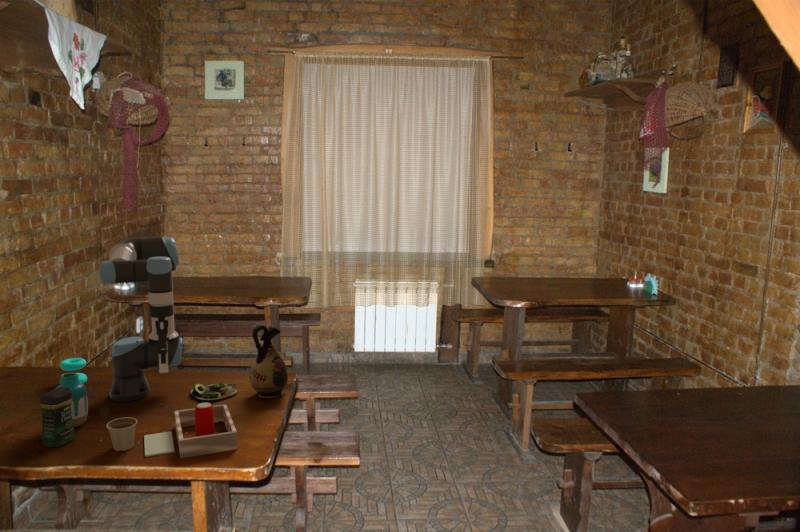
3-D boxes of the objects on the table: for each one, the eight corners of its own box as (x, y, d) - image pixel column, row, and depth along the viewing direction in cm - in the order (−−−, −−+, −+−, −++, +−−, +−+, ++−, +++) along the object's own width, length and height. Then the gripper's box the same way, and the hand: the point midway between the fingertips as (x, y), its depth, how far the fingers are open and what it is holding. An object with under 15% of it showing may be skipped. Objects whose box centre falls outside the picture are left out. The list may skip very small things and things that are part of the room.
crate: (175, 426, 223) (174, 410, 222) (226, 419, 230) (226, 404, 229) (180, 458, 199) (179, 440, 198) (237, 449, 206) (236, 432, 205)
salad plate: (226, 382, 269) (226, 372, 268) (247, 394, 256) (247, 383, 256) (184, 393, 256) (183, 383, 255) (204, 406, 243) (203, 395, 242)
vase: (55, 434, 215) (51, 381, 212) (56, 422, 224) (52, 372, 221) (89, 428, 220) (85, 377, 217) (88, 417, 229) (85, 368, 226)
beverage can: (214, 440, 213) (213, 407, 211) (195, 442, 211) (194, 409, 209) (214, 432, 218) (213, 400, 216) (196, 434, 217) (194, 402, 215)
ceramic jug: (274, 385, 266) (273, 317, 261) (295, 395, 255) (294, 324, 250) (239, 395, 254) (237, 324, 249) (259, 405, 243) (258, 332, 238)
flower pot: (127, 455, 201) (125, 430, 199) (101, 452, 203) (100, 427, 201) (144, 442, 210) (143, 418, 208) (119, 439, 212) (118, 416, 210)
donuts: (89, 361, 263) (63, 365, 256) (90, 383, 264) (65, 388, 258) (82, 355, 270) (56, 360, 263) (83, 377, 272) (58, 382, 265)
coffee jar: (58, 449, 204) (54, 396, 201) (38, 446, 206) (33, 393, 203) (79, 437, 213) (76, 386, 210) (60, 434, 215) (56, 383, 212)
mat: (144, 436, 214) (144, 435, 214) (171, 432, 218) (171, 431, 218) (145, 457, 200) (144, 455, 200) (174, 452, 203) (174, 450, 203)
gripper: (149, 297, 213) (152, 356, 216) (147, 313, 190) (151, 379, 193) (172, 295, 215) (175, 354, 219) (173, 311, 192) (176, 376, 196)
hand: (163, 366), depth 206 cm, fingers open, 13 cm apart
